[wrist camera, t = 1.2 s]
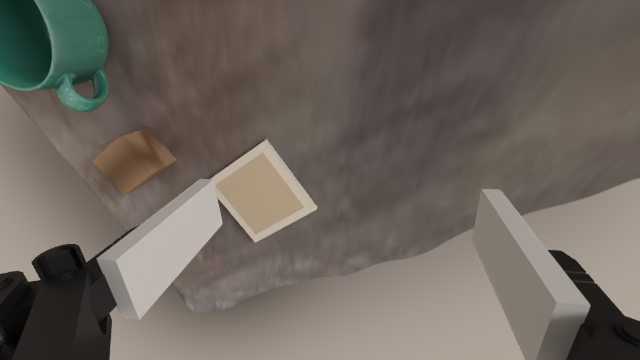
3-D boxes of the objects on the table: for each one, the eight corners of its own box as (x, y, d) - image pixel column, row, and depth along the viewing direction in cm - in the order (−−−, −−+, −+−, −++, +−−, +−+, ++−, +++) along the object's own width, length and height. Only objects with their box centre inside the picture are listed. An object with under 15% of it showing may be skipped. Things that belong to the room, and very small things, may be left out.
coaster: (207, 180, 46) (204, 182, 45) (266, 139, 41) (264, 140, 41) (257, 239, 49) (255, 242, 48) (317, 206, 44) (316, 210, 44)
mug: (18, 8, 40) (-78, -1, 32) (76, -50, 36) (-18, -77, 28) (101, 121, 45) (36, 139, 37) (160, 82, 41) (103, 93, 33)
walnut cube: (125, 147, 46) (91, 161, 41) (148, 126, 44) (116, 138, 39) (153, 178, 48) (124, 196, 43) (177, 159, 46) (149, 175, 40)
